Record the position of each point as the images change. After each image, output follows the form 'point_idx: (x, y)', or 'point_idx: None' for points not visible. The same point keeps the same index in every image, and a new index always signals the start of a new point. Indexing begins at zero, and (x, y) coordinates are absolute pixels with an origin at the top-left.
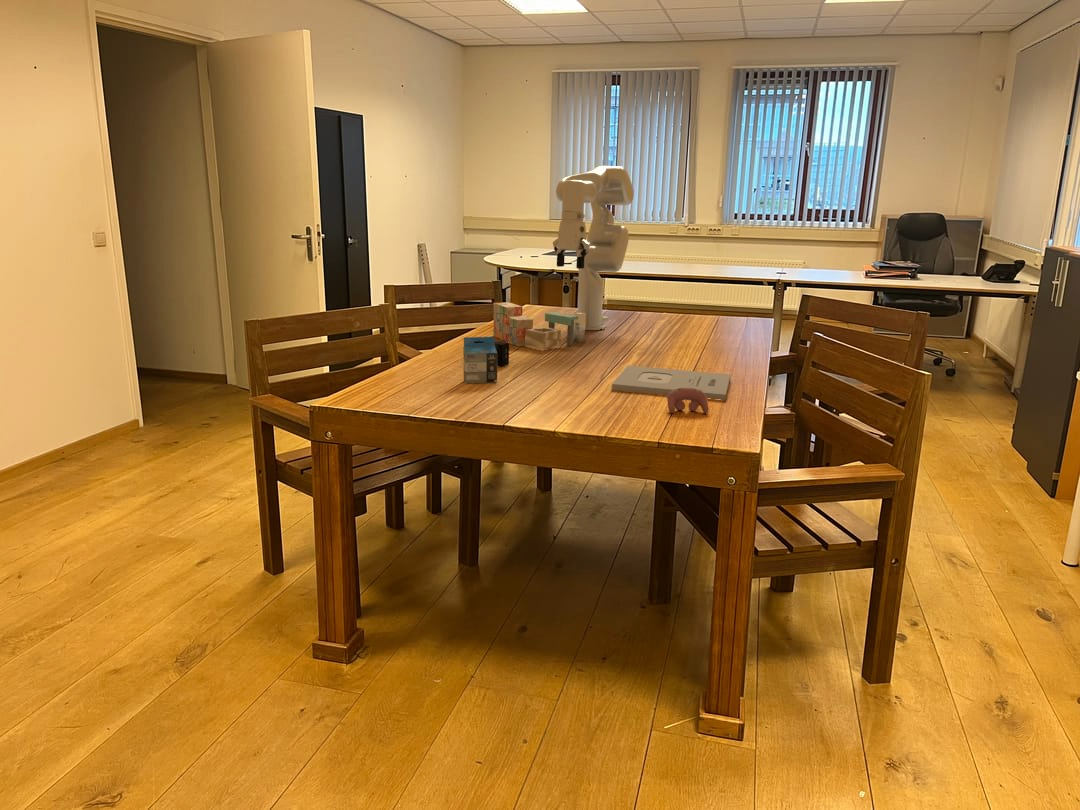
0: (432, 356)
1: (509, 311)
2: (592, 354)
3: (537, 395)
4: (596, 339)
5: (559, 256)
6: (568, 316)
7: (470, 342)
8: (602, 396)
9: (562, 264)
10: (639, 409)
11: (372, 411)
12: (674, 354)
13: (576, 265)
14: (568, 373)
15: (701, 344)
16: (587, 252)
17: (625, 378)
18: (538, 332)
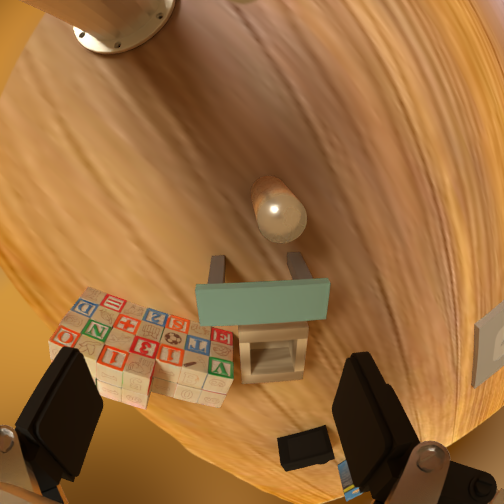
0: (213, 456)
1: (149, 395)
2: (393, 289)
3: (419, 436)
4: (281, 122)
5: (74, 465)
6: (306, 309)
7: (350, 494)
8: (467, 399)
9: (81, 377)
10: (493, 390)
11: (342, 496)
12: (495, 150)
13: (337, 426)
14: (415, 390)
15: (469, 9)
16: (479, 474)
17: (483, 368)
18: (288, 380)
